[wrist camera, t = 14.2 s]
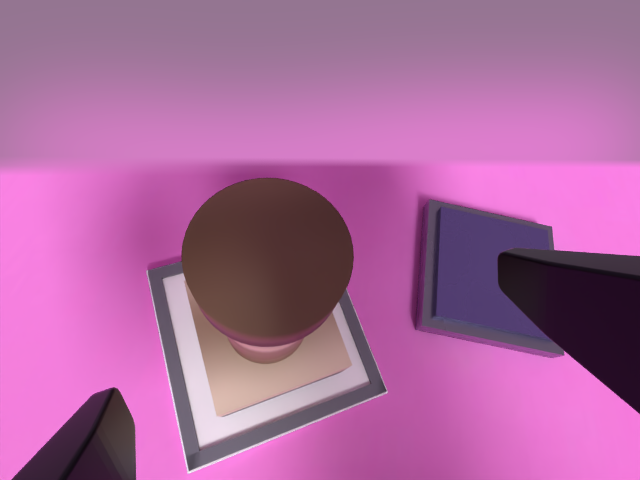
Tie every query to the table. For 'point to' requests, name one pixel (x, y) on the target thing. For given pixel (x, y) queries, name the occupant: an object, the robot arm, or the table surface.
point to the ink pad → (475, 278)
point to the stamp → (266, 289)
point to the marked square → (261, 419)
